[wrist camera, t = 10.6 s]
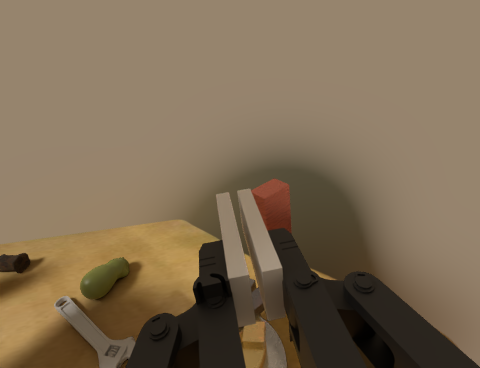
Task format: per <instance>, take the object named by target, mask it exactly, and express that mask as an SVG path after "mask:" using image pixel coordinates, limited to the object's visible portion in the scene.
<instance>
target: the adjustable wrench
mask: <svg viewBox="0 0 480 368" xmlns="http://www.w3.org/2000/svg"><path fill="white" fill-rule="evenodd" d="M65 301H67V302H66V303H65V304H64V305H63V306H61V307H59V306H60V304H62V303H63V302H65ZM54 307H55V308H56V310H57V311H58V312H59V313H60V314H61V315H62V316H63V317H64V318H65V319H66V320H67V321H68V322H69V323H70V324H71V325H72V326H73V327H74V328H75V329H76V330H77V331H78V332H79V333H80V334H81V335H82V337H83V338H84V339H85V340H86V341H87V342H88V343H89V344H90V345H91V346H92V347H93V348H94V349H95V350H96V351H97V353H98V358H99V368H120V367H121V365H122V364H123V362H124V361H125V360H127V359H128V360H129V358H130V355H131V353H132V351H133V348H134V346H135V343H136V342H135V340H134V338H133V337H127V339H123V340H112V339H109V338H108V337H107V336H106V335H105V334H104V333H103V332H102V331H101V330H100V329H99V328H98V327H97V326H96V325H95V324H94V323H93V322H92V321H91V320H90V319H89V318H88V317H87V316H86V315H85V314H84V312H83V311H82V310H81V309H80V308H79V307H78V306H77V305H76V304H75V303H74V302H73V301H72V300H71V299H70V298H69V297H68V296H64V297H62V298H60V299H58V300H57V301H56V303H55V304H54Z"/></svg>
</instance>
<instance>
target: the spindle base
mask: <svg viewBox="0 0 480 368" xmlns="http://www.w3.org/2000/svg"><path fill="white" fill-rule="evenodd" d="M249 279H250V278H249ZM250 286H251V292H253V291H254V290H255V289H256V283H255V280H253V279H250ZM259 317H260V319H261V321H262V322H265V327H266V336H265V340H266V346H267V353H268V368H287V361H286V354H285V350H284V347H283V344H282V342H281V339H280V338H279V336H278V334H277V332H276V331H275V330H274V329H273V327H272V326H271V325H270V324H269V323H268V322H267V321H266V320H264V319H263V318H262V317H261V316H260V314H259Z"/></svg>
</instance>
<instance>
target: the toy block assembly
mask: <svg viewBox="0 0 480 368" xmlns="http://www.w3.org/2000/svg"><path fill="white" fill-rule="evenodd" d="M251 192H252V195H253V197H254V200H255V202H256V205H257V207H258V209H259V212H260V214H261V217H262V219H263V222H264V224H265V227H266V229H267V231H268V230H273V229H279V228H285V229H286V230H287V231H289V232H290V233H291V215H290V195H289V185H288V184H286V183H284V182H281V181H279V180H277V179H272V180H270V181H268V182H267V183H265V184H263V185H261V186H259V187H257V188H255V189H253V190H251ZM251 293H252V300H253V307H254V314H255V320H256V324H252V325H247V326H243V327H239V334H240V339H241V344H242V349H243V355H244V360H245V365H246V368H268V353H267V346H266V340H265V336H266V327H265V322H262V321H261V319H260V317H259V314H260V313H261V312H263V311H264V310H265V309H264V305H263V301H262V298H261V294H260V290H259V287H258V288H257V289H255V290H254V291H253V292H251Z"/></svg>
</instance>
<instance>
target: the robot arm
mask: <svg viewBox="0 0 480 368" xmlns="http://www.w3.org/2000/svg"><path fill="white" fill-rule="evenodd" d="M237 192H238V199H239V206H240V214H241V221H242V227H243V232H244V235H245V239H246V243H247V246H248V250H249V254H250V257H251V261H252V265H253V268H254V272H255V276H256V279H257V283H258V287H259V290H260V294H261V298H262V301H263V305H264V309H265V312H266V316H267V320H268V321H270V320H275V319H279V318H284V317H286V314H287V316H288V319H289V332H290V342H291V341H293V342H294V345H295V349H296V352H297V355H298V358H299V362H300V365H301V368H480V367H479V366H478V365H477V364H476V363H475V362H474V361H472V360H471V359H470V358H469V357H468V356H466V355H465V354H464V353H463V352H462V351H461V350H460V349H458V348H457V347H456V346H455V345H454V344H453V343H452V342H450V341H449V340H448V339H447V338H446V337H445V336H443V335H442V334H441V333H440V332H439V331H438V330H437V329H435V328H434V327H433V326H432V325H431V324H430V323H428V322H427V321H426V320H425V319H424V318H423V317H421V316H420V315H419V314H418V313H417V312H416V311H415V310H413V309H412V308H411V307H410V306H409V305H408V304H407V303H405V302H404V301H403V300H402V299H401V298H400V297H398V296H397V295H396V294H395V293H394V292H393V291H391V290H390V289H389V288H388V287H387V286H386V285H384V284H383V283H382V282H381V281H380V280H379V279H377V278H376V277H374V276H373V275H371V274H369V273H366V272H353V273H350V274H348V275H347V276H346V277H345V280H344V281H338V280H327V279H324V278H321V277H319V276H318V274H316V273H315V272H313V271H311V269H310V268H309V266H308V264H307V262H306V260H305V259H304V257H303V255H302V253H301V251H300V249H299V248H298V246H297V244H296V242H295V240H294V238H293V236H292V234H291V233H290V232H289V231H287V230H286V229H285V228H279V229H273V230H268V231H267V229H266V227H265V224H264V222H263V219H262V217H261V214H260V212H259V209H258V207H257V205H256V202H255V200H254V197H253V195H252V192H251V190H250V189H245V190H239V191H237ZM216 198H217V205H218V212H219V219H220V226H221V232H222V239H223V240H220V241H215V242H210V243H205V244H203V245H202V247H201V249H200V250H199V277H198V278H197V279H196V281H195V282H194V285H193V292H194V295H195V299H196V303H195V305H194V306H193V307H191V308H190V309H189V310H187V311H186V312H184V313H182V314H180V315H178V316H177V317H175V316H173V315H172V314H168V313H163V314H158V315H156V316H154V317H152V318H151V319H149V320H148V321H147V322H146V323H145V324H144V326H143V328H142V329H141V331H140V334H139V336H138V338H137V341H136V343H135V346H134V348H133V351H132V353H131V355H130V358H129V360H128V363H127V365H126V367H125V368H246V365H245V360H244V355H243V349H242V344H241V339H240V334H239V327H243V326H247V325H252V324H256V320H255V314H254V307H253V300H252V293H251V286H250V279H249V273H248V269H247V265H246V261H245V257H244V253H243V249H242V244H241V240H240V236H239V232H238V228H237V224H236V220H235V216H234V212H233V208H232V203H231V199H230V195H229V192H227V193H222V194H216ZM285 311H286V314H285Z"/></svg>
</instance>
